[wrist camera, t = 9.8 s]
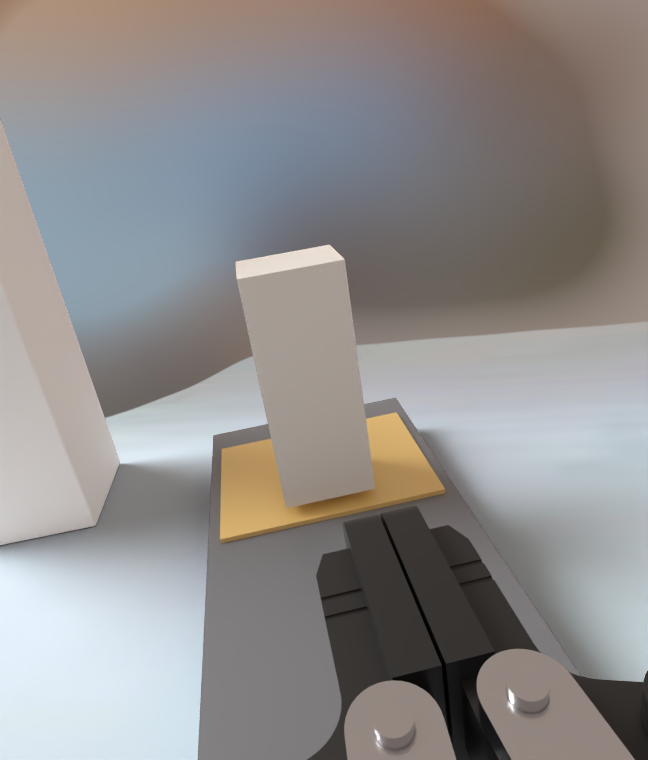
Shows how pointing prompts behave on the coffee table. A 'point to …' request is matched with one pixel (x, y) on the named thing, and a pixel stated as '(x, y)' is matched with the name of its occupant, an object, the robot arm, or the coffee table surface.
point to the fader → (308, 372)
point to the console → (306, 586)
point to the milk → (43, 388)
